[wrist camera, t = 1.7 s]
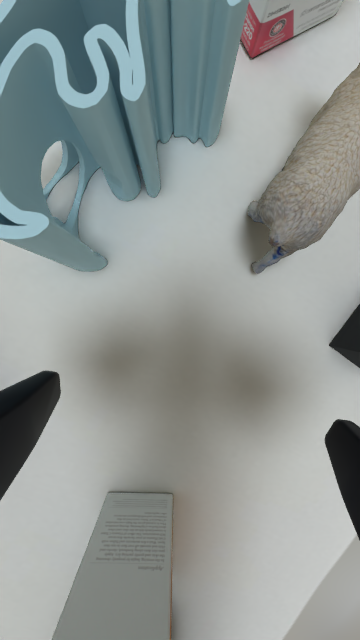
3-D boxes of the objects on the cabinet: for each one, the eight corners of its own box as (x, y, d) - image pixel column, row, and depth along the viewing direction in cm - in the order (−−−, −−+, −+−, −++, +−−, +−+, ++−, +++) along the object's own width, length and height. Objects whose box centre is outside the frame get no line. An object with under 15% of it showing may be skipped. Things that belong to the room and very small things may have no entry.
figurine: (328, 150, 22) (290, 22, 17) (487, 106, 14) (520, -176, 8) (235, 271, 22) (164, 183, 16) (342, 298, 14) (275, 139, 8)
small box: (172, 573, 22) (164, 965, 9) (105, 572, 22) (-4, 964, 9) (174, 491, 21) (170, 769, 8) (107, 489, 21) (-4, 768, 8)
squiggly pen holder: (133, 57, 20) (92, -169, 10) (225, 126, 20) (266, -34, 11) (17, 229, 20) (-120, 161, 11) (109, 294, 21) (52, 280, 11)
